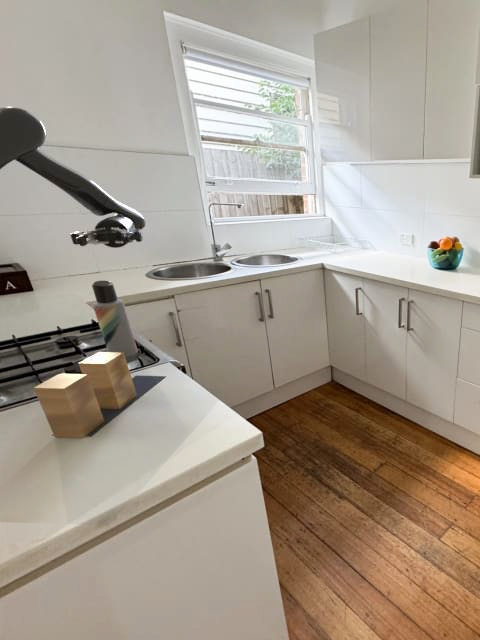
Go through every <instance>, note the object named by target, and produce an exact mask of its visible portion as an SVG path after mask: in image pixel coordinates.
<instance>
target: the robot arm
mask: <svg viewBox="0 0 480 640" xmlns="http://www.w3.org/2000/svg"><path fill="white" fill-rule="evenodd" d="M46 133H47V131H46V128H45V126H44V124H43V122H42V121H41V119H39V118H38V117H37V116H36V115H35V114H34V113H32V112H30V111H28V110H26V109H23V108H21V107H20V108H19V107H15V106H3V107H0V170H2V169H3V168H4V167H5V166H7V165H8V164H10V163H12V162H13V161H16V162H18V163H19V164H21V165H23V166H24V167H25V168H27V169H29V170H30V171H32V172H34V173H35V174H37V175H38V176H40V177H42V178H44V179H45V180H47V181H48V182H49V183H51V184H52V185H55V187H57V188H59V189H60V190H62V191H63V192H65V194H67V195H69V196H70V198H72V199H74V200H75V201H76V202H78V203H79V204H80V205H81V206H82V207H84V208H85V209H87V210H88V211H89V212H91V213H92V214H94V215H95V216H98V217H103V216H107V215H110V214H114V215H112V216H108V217H105V218H104V219H102V220H100V221H98V223H96V225H95V227H94V229H89V230H88V229H87V230H86V231H85V232H84V231H83V230H79V229H78V230H76V231H74V232H71V233H69V236H70V238H71V241H72V244H73V245H75V246H76V245H79V246H80V247H86V246H87V245H102V244H103V245H104V246H106V247H109V248H112V249H113V248H115V249H118V248H123V247H125V246H126V245H128V244H129V243H130V244H131V243H133V242H134V241H135V242H137V243H141V242H143V239H144V238H143V233H142V230H143V229H144V228H145V227H146V224H147V223H146V220H145V218H144V216H143V215H142V214H141V213H140V212H139V211H137V210H135V209H134V208H132V207H130V206H129V205H126V204H124V203H122V202H120V201H119V200H117V199H115V198H114V197H112V196H111V195H110V194H108V193H107V192H106V191H105V190H104V189H103V188H102V187H100V185H98V184H97V183H95V182H94V181H93V180H91V179H90V178H89V177H87V176H85V175H84V174H82V173H80V172H79V171H77V170H74V169H73V168H71V167H69V166H67V165H65V164H63V163H61V162H59V161H58V160H57V159H54V158H53V157H51V156H49V154H47V153H46V152H44V151H43V150H42V149H40V148H41V147H43V145H44V144H45V141H46V139H47V134H46ZM87 239H88V240H87Z"/></svg>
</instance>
